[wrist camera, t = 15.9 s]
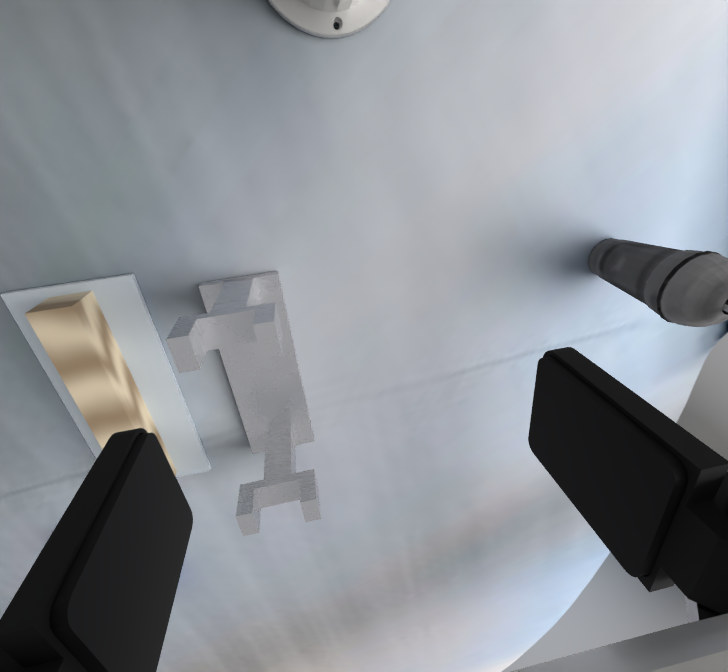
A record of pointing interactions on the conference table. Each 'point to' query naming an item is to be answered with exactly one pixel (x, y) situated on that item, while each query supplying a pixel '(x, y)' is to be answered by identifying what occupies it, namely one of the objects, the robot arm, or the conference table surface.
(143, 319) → the mat
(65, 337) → the rail
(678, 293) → the beverage cup
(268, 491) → the rail stand
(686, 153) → the conference table surface
